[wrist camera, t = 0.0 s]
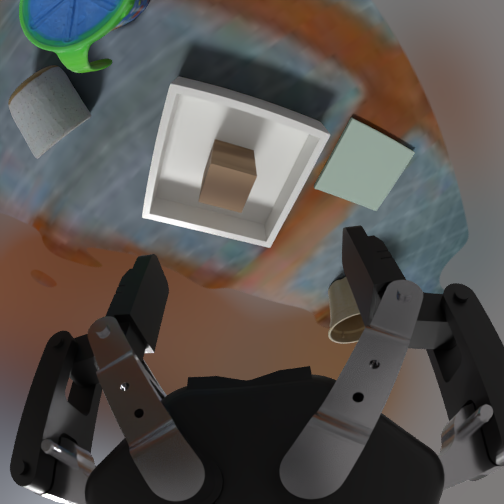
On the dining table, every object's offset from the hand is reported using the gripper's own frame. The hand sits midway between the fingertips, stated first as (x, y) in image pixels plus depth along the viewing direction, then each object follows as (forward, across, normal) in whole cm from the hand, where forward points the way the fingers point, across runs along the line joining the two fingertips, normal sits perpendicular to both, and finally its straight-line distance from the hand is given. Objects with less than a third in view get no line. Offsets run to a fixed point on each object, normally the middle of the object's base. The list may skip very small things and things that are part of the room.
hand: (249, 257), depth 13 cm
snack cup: (+20, +10, -19) cm, 29 cm away
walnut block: (+22, +2, +3) cm, 23 cm away
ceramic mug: (+22, +21, -9) cm, 31 cm away
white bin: (+23, +2, +3) cm, 23 cm away
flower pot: (+27, -13, +29) cm, 42 cm away
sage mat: (+24, -14, +6) cm, 28 cm away
